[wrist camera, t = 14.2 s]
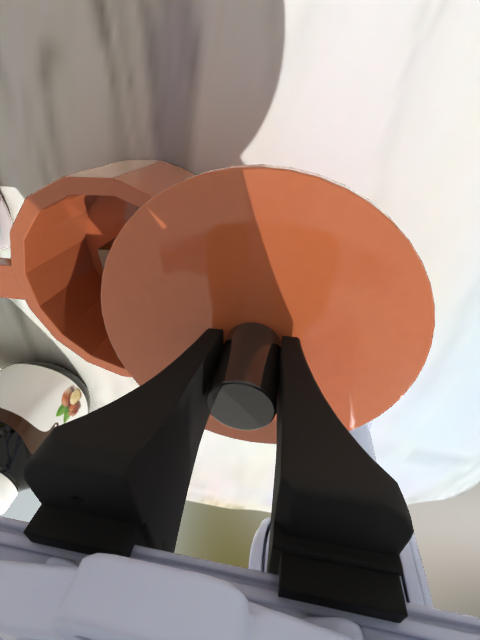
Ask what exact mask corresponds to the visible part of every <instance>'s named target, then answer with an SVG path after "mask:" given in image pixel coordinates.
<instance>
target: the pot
mask: <svg viewBox="0 0 480 640" xmlns="http://www.w3.org/2000/svg"><path fill="white" fill-rule="evenodd" d="M192 176H195V175H194V174H193V173H191V172H189V171H187V170H185V169H183V168H181V167H178V166H176V165H173V164H170V163H166V162H164V161H157V160H123V161H120V162H116V163H112V164H108V165H105V166H101V167H97V168H93V169H90V170H86V171H82V172H78V173H75V174H71V175H67V176H64V177H61V178H59V179H57V180H56V181H54V182H52V183H50V184H48V185H47V186H45V187H43V188H41V189H39V190H38V191H36V192H34V193H32V194H30V195H29V196H28V197H26V199H25V201H24V203H23V205H22V207H21V209H20V211H19V213H18V215H17V217H16V219H15V221H14V223H13V225H12V227H11V230H10V248H11V259H9V258H0V297H2V298H12V299H23V300H26V302H27V304H28V306H29V307H30V309H31V310H32V312H33V313H34V314H35V315H36V316H37V318H38V319H39V320H40V321H41V322H42V323H43V325H44V326H45V327H46V328H47V329H48V330H49V332H50V333H51V334H52V335H53V336H54V337H55V338H56V339H57V340H58V341H59V342H61V343H62V344H63V345H65V346H66V347H68V348H69V349H70V350H72V351H73V352H75V353H76V354H77V355H79V356H80V357H81V358H83V359H84V360H86V361H87V362H89V363H92V364H94V365H96V366H99V367H101V368H104V369H106V370H109V371H111V372H114V373H116V374H118V375H121V376H126V377H132V376H131V375H130V374H129V373H128V371H127V370H126V368H125V367H124V365H123V364H122V362H121V361H120V359H119V358H118V356H117V354H116V352H115V350H114V348H113V346H112V344H111V342H110V339H109V336H108V334H107V331H106V328H105V323H104V319H103V315H102V306H101V283H102V275H103V269H102V265H101V261H100V258H99V254H98V251H97V249H99V248H100V247H102V246H103V245H105V244H106V243H108V242H109V241H111V240H112V239H114V238H115V237H117V236H118V234H119V232H120V231H121V229H122V228H123V226H124V225H125V223H126V222H127V221H128V220H129V219H130V218H131V217H132V216H133V215H134V214H135V212H136V211H137V210H138V209H139V208H140V207H142V206H143V205H144V204H145V203H147V202H148V201H149V200H150V199H152V198H153V197H154V196H156V195H157V194H158V193H160V192H162V191H164V190H165V189H167V188H169V187H171V186H173V185H175V184H176V183H178V182H180V181H182V180H184V179H186V178H189V177H192Z"/></svg>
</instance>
